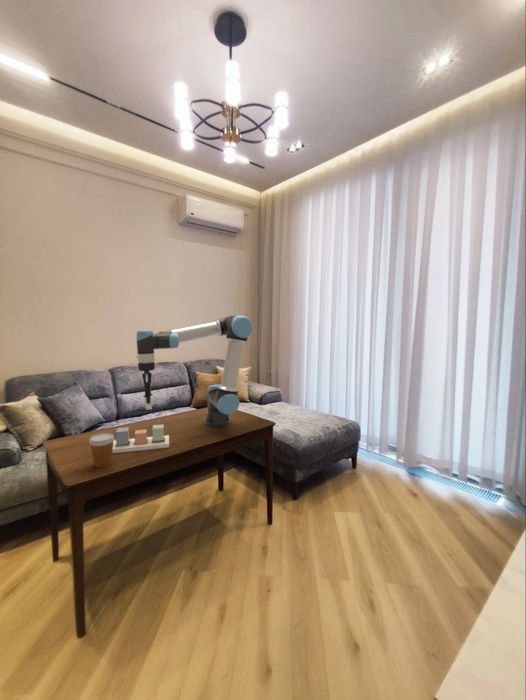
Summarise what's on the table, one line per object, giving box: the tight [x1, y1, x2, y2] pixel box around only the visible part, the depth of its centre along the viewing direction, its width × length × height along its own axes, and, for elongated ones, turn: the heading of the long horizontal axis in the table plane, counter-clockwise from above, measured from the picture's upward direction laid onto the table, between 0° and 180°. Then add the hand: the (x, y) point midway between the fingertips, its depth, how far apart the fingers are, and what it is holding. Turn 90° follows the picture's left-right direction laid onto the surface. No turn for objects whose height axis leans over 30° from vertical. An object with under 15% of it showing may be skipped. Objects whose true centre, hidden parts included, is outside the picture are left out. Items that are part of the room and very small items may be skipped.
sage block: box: [152, 424, 165, 441], centre depth 149 cm, size 5×5×6 cm
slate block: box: [115, 427, 130, 445], centre depth 144 cm, size 5×5×6 cm
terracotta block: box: [134, 429, 148, 445], centre depth 146 cm, size 5×5×6 cm
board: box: [112, 434, 170, 455], centre depth 147 cm, size 26×11×2 cm, turn 108°
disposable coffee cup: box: [88, 432, 116, 469], centre depth 128 cm, size 10×10×12 cm
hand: (148, 409), depth 149 cm, fingers closed
